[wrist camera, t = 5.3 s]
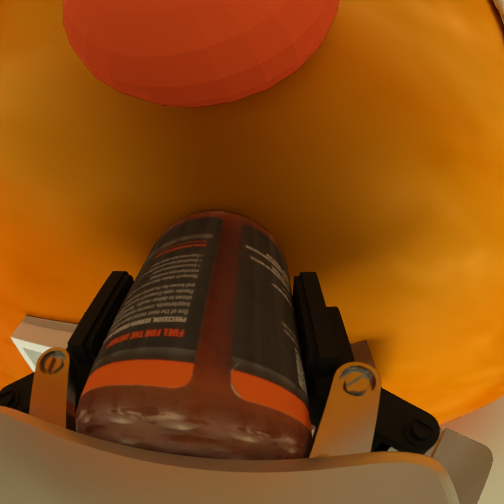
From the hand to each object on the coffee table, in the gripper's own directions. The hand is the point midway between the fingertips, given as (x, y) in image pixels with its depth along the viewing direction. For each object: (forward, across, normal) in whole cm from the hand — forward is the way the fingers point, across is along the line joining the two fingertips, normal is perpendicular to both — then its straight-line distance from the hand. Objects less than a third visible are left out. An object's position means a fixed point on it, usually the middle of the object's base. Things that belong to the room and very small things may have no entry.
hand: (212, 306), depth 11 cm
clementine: (+3, 0, -11) cm, 11 cm away
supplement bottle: (+3, 0, 0) cm, 3 cm away
